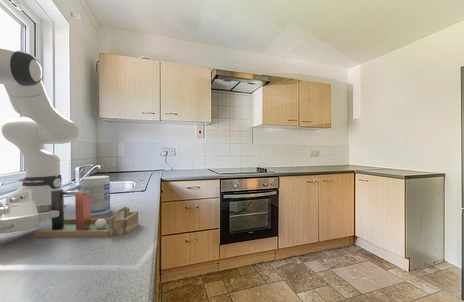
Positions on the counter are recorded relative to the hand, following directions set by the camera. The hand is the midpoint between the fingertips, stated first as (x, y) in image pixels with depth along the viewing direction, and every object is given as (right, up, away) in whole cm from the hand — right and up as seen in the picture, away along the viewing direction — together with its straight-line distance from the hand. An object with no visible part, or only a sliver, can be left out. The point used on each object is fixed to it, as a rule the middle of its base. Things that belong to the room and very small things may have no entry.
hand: (57, 209), depth 66 cm
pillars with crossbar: (+4, -6, 0) cm, 7 cm away
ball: (+14, -6, 0) cm, 15 cm away
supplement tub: (+1, -7, +18) cm, 19 cm away
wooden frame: (+21, -7, 0) cm, 22 cm away
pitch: (+9, -7, 0) cm, 11 cm away
